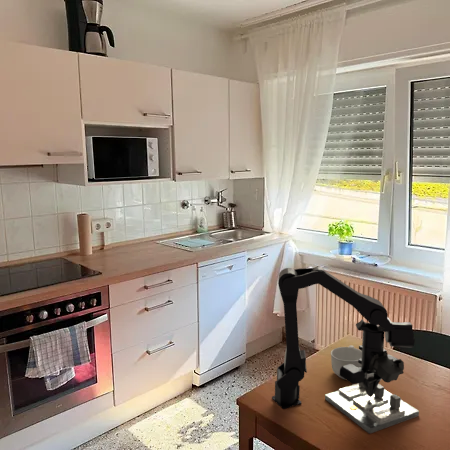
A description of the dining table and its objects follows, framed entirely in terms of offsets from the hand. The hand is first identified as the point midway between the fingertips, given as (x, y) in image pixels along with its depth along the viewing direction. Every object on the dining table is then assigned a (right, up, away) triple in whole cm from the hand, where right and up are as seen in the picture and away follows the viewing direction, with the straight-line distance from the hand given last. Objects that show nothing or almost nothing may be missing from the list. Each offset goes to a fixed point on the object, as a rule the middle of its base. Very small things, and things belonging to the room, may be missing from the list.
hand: (370, 396), depth 120 cm
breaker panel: (0, -3, +1) cm, 3 cm away
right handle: (+5, -1, -4) cm, 7 cm away
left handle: (0, 0, +7) cm, 7 cm away
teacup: (0, -1, +20) cm, 20 cm away
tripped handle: (+3, 0, +1) cm, 3 cm away
